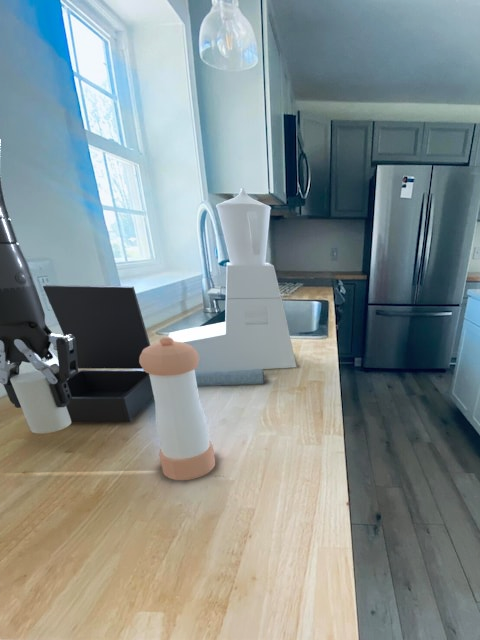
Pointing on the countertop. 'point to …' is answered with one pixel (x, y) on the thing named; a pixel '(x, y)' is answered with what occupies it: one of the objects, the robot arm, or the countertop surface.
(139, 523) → the countertop surface
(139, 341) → the lid
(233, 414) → the countertop surface
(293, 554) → the countertop surface
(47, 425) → the container
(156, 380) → the salt shaker
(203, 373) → the grey folded cloth
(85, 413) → the black hinged box
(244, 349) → the blender
